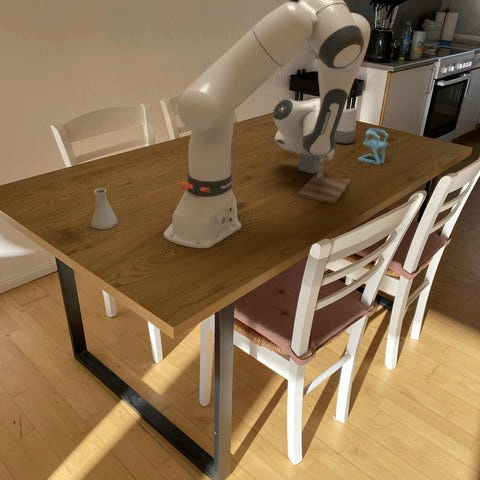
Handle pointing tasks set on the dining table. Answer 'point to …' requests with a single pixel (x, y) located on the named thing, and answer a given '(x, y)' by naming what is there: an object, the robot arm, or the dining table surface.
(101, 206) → the flask
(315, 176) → the post board
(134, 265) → the dining table surface
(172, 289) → the dining table surface
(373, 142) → the chair
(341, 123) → the smart speaker
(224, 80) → the robot arm
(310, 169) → the square hollow box
